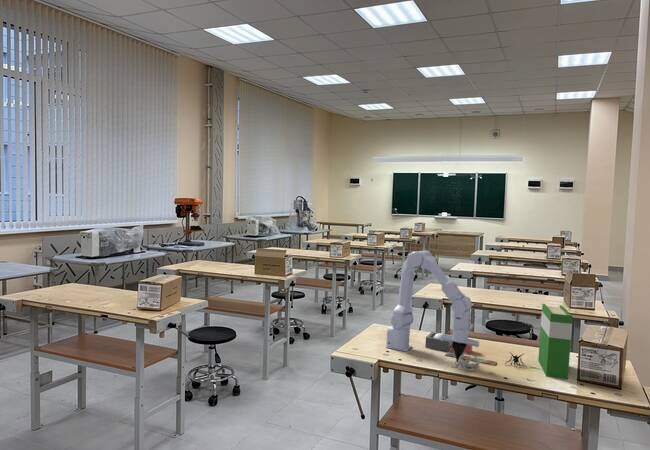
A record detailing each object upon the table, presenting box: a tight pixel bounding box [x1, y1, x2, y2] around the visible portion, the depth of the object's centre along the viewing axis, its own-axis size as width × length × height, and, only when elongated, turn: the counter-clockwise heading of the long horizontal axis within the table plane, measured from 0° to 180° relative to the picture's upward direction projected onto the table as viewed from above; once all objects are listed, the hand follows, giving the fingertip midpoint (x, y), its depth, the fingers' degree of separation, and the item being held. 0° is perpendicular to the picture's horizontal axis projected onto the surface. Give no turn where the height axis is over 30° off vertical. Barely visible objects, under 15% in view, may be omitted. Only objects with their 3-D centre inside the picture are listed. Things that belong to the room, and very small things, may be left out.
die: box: [463, 339, 474, 355], centre depth 198 cm, size 5×5×5 cm
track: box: [445, 351, 498, 366], centre depth 188 cm, size 20×4×1 cm, turn 62°
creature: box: [504, 353, 527, 370], centre depth 182 cm, size 8×5×8 cm
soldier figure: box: [454, 352, 480, 372], centre depth 177 cm, size 8×5×12 cm
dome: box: [434, 332, 445, 339], centre depth 203 cm, size 7×7×6 cm
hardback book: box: [537, 303, 573, 380], centre depth 179 cm, size 18×7×24 cm, turn 164°
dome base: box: [424, 331, 453, 353], centre depth 203 cm, size 10×10×4 cm
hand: (458, 361), depth 181 cm, fingers closed
